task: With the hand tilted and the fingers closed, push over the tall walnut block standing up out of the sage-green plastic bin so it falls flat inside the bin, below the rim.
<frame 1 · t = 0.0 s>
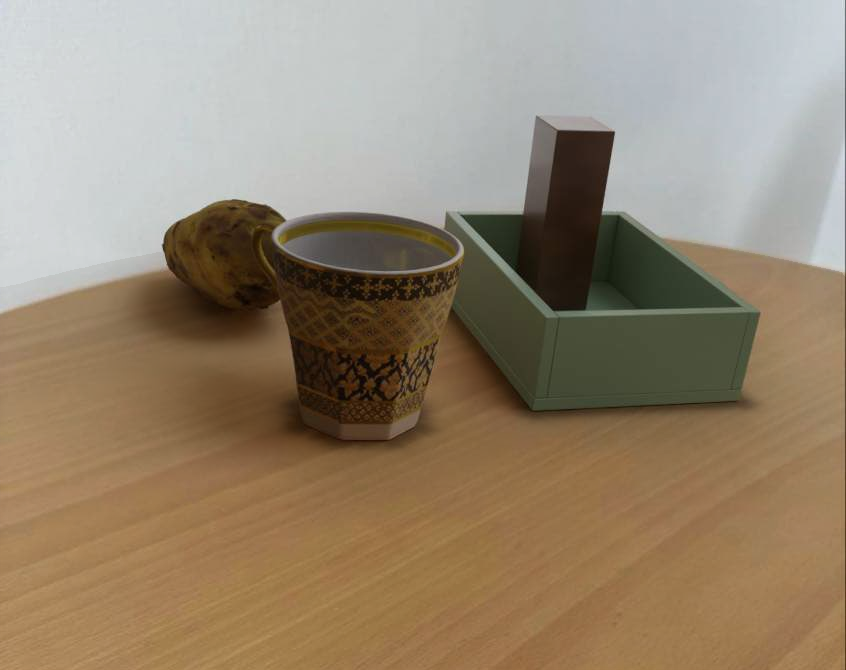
ceramic cup: (337, 409, 66), on the table
bin: (576, 341, 77), on the table
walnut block: (549, 300, 81), point 1 cm above the table, touching bin
potato: (230, 313, 77), on the table
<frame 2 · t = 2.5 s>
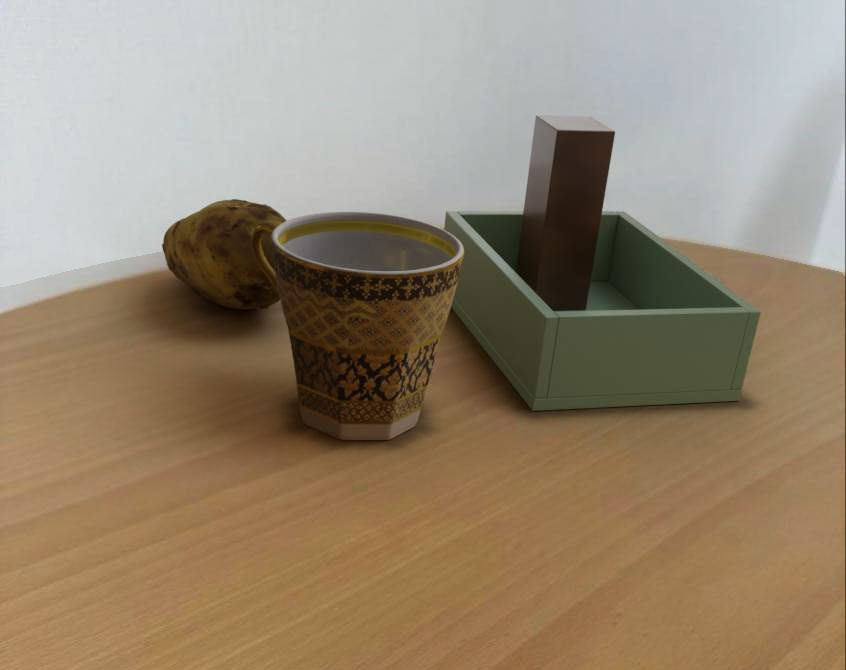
nothing on the table moved.
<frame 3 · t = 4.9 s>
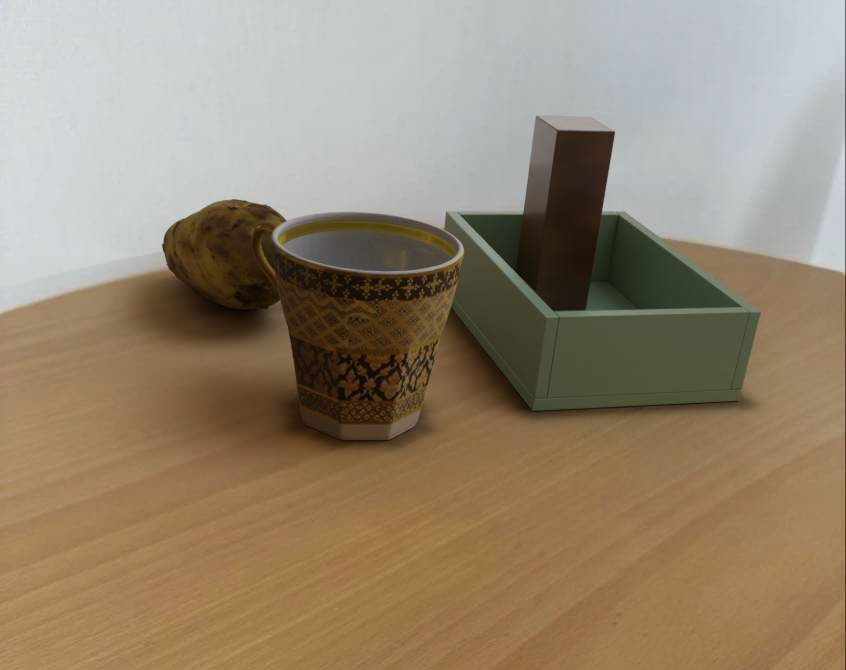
nothing on the table moved.
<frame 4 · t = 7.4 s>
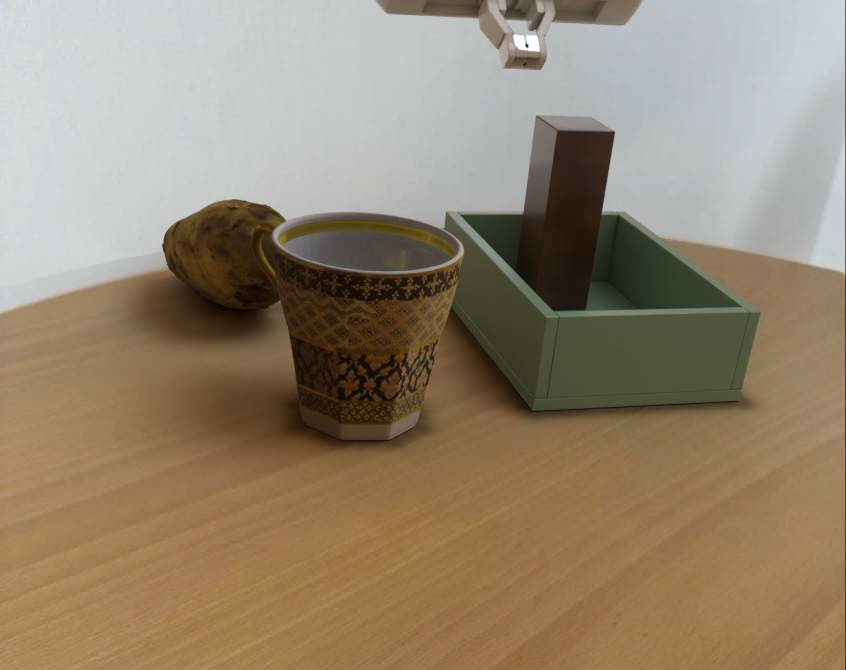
hand: (524, 64, 82), 14 cm above the table, tool tilted 45°, fingers closed
nothing on the table moved.
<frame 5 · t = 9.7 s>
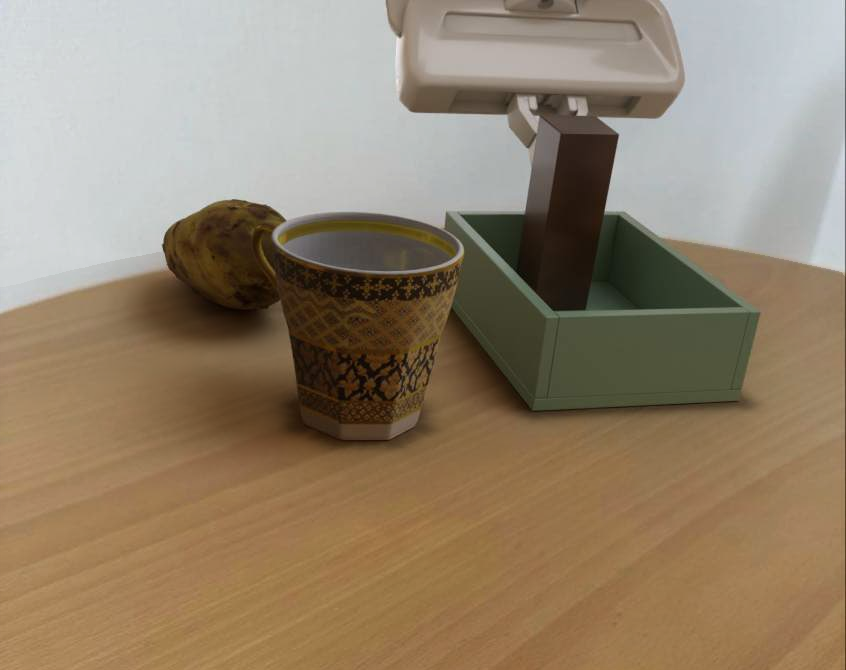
hand: (556, 165, 78), 10 cm above the table, tool tilted 45°, fingers closed, pressing on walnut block
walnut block: (549, 299, 81), point 1 cm above the table, touching bin, gripper
everything else where it was.
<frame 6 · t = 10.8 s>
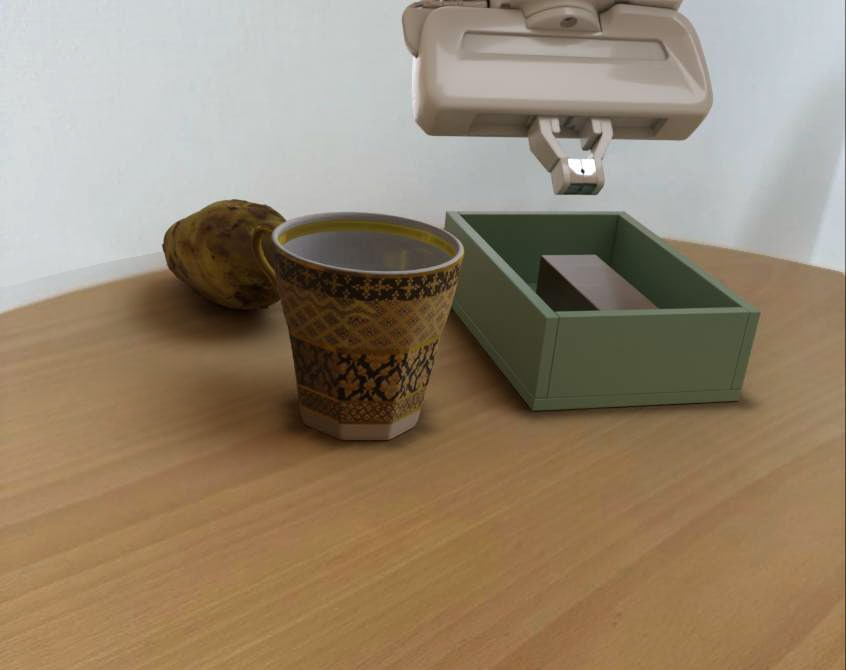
hand: (580, 191, 75), 9 cm above the table, tool tilted 45°, fingers closed
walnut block: (564, 283, 78), point 3 cm above the table, tilted 90°, touching bin
everything else where it was.
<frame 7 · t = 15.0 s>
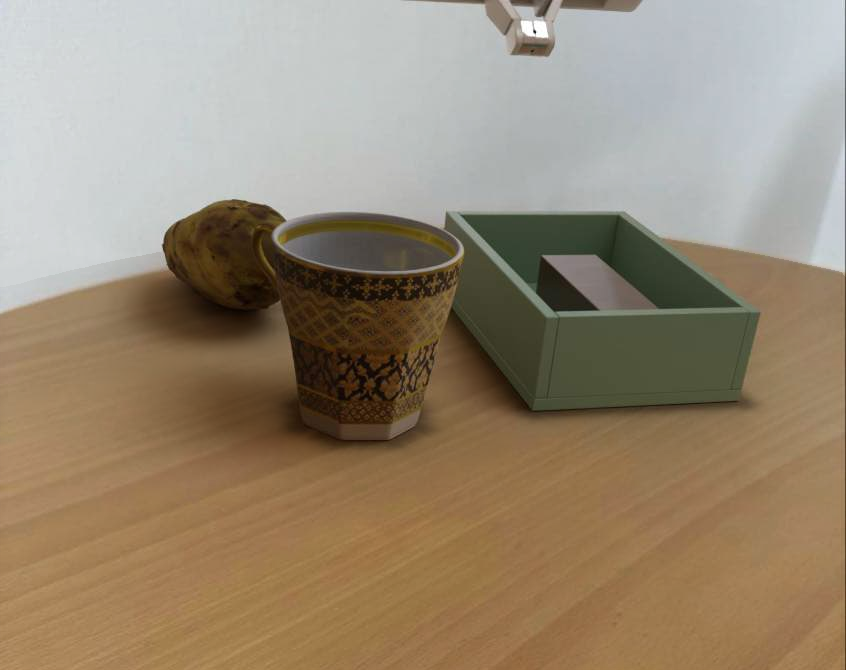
hand: (532, 51, 80), 16 cm above the table, tool tilted 45°, fingers closed
nothing on the table moved.
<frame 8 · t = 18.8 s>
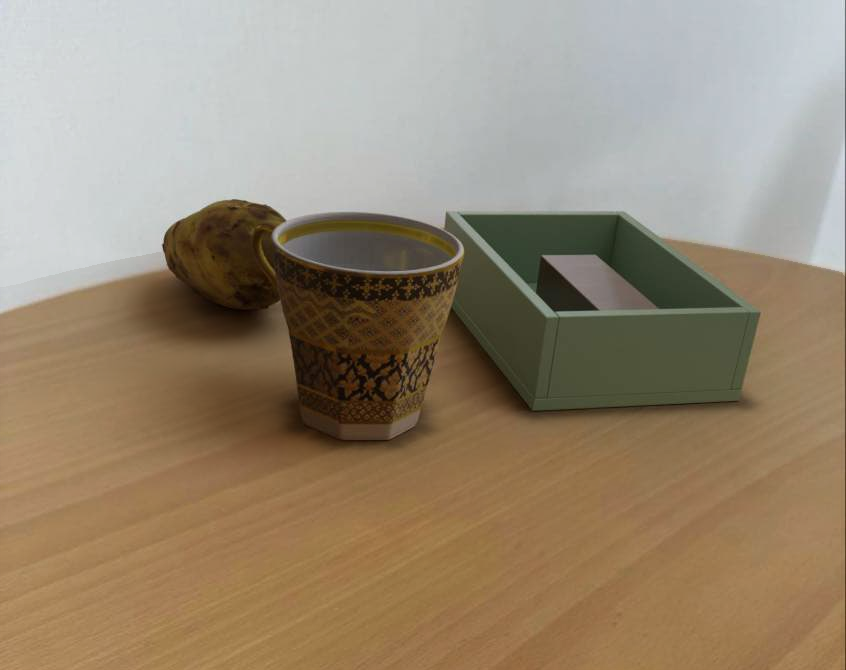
nothing on the table moved.
at the end: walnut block tilted 90°; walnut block inside the target area in the bin (3.4 cm from its centre), point 2.8 cm above the bin's base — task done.
